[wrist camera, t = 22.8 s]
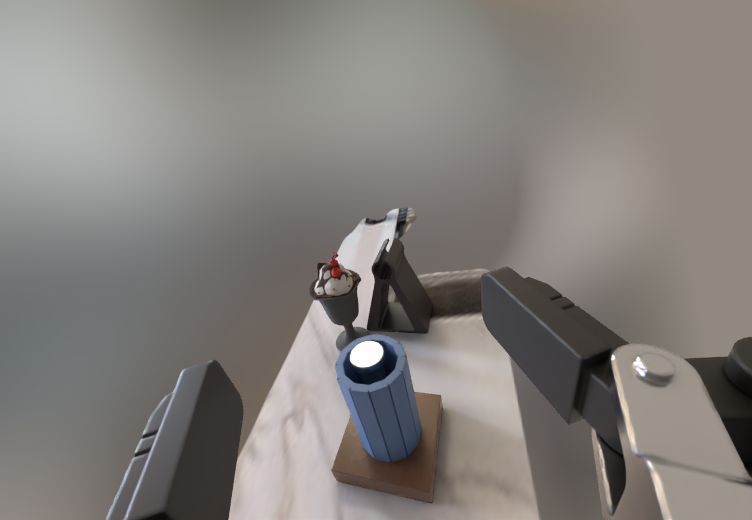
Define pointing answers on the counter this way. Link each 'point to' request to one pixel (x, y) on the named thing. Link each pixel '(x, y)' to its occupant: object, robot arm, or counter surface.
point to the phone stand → (397, 294)
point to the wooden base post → (396, 477)
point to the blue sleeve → (382, 402)
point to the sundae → (339, 298)
